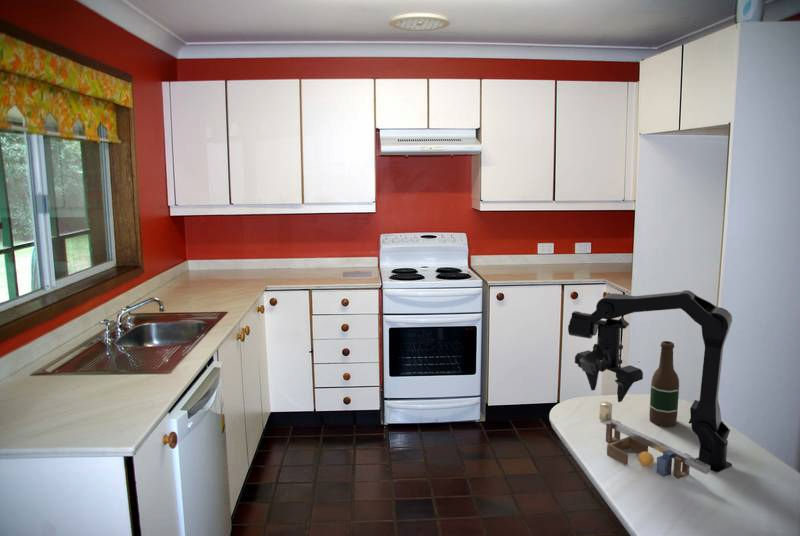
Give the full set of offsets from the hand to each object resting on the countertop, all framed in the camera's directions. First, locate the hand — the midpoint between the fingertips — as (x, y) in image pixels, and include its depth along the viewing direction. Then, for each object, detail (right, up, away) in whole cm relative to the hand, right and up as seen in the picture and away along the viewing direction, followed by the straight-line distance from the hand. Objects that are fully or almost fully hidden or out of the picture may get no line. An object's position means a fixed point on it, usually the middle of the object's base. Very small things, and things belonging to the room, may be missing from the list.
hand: (606, 395), depth 161 cm
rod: (+6, -14, -10) cm, 18 cm away
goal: (+3, -14, -8) cm, 16 cm away
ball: (+5, -13, -13) cm, 19 cm away
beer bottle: (+20, -10, +11) cm, 25 cm away
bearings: (+7, -14, -9) cm, 18 cm away
